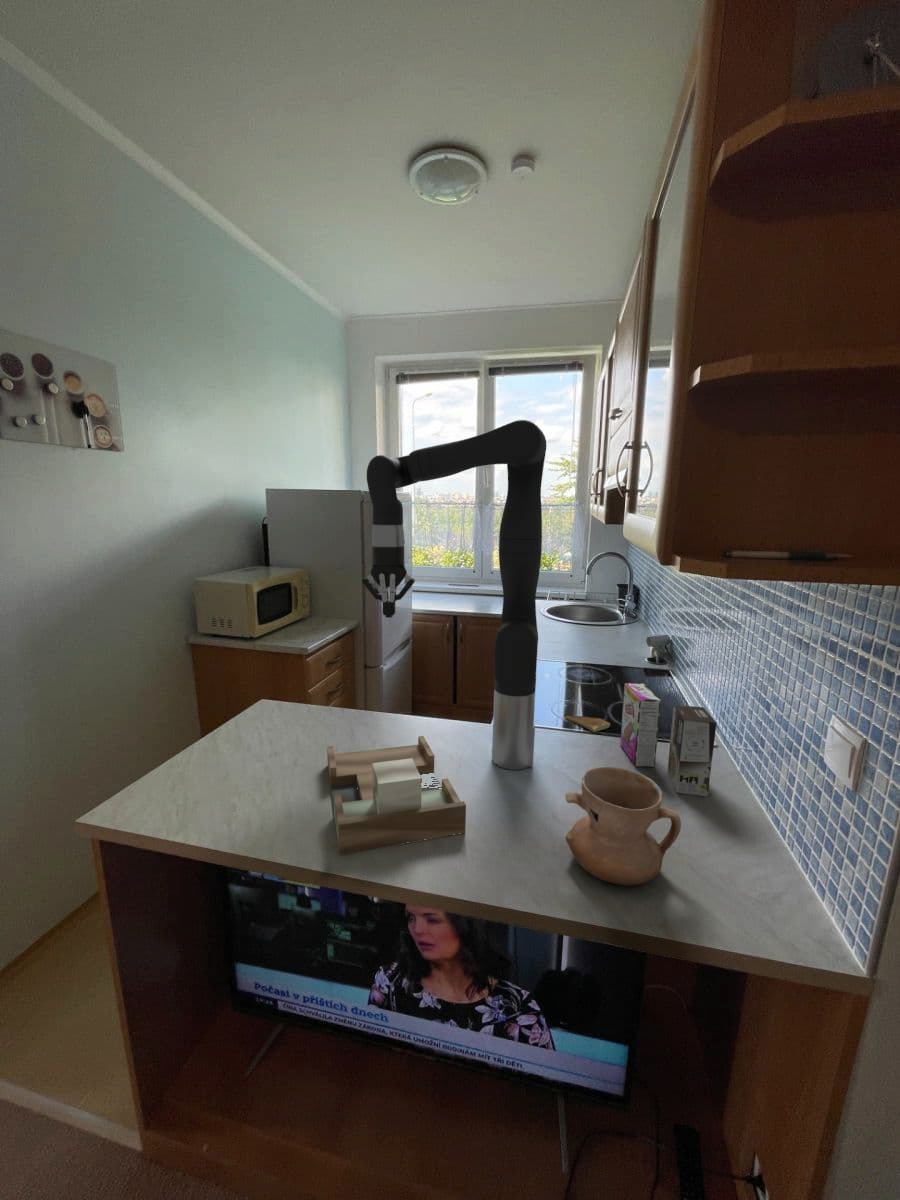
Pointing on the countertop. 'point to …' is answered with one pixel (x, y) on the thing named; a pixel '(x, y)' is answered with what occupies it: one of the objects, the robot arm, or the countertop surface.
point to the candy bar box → (640, 724)
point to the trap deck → (375, 831)
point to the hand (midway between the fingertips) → (389, 616)
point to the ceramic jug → (620, 826)
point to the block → (396, 786)
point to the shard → (589, 722)
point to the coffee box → (691, 750)
